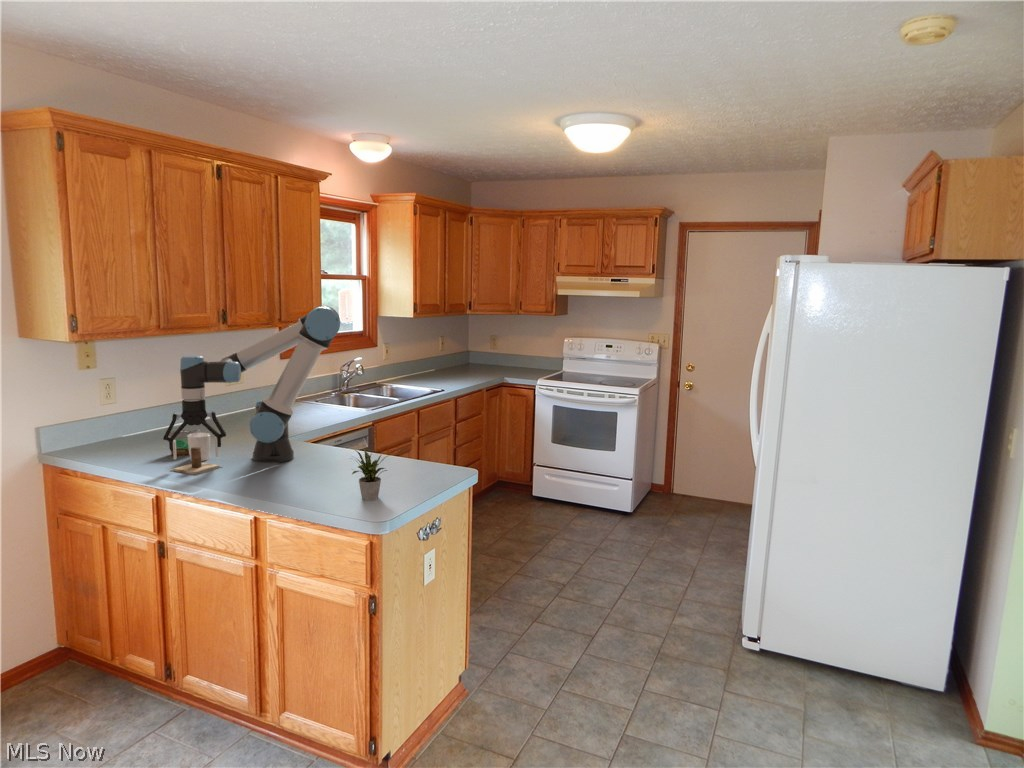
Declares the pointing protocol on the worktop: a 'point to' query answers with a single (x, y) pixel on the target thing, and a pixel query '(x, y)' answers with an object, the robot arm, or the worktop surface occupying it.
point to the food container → (182, 442)
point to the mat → (194, 474)
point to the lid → (196, 463)
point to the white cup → (200, 444)
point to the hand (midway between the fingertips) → (196, 457)
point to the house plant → (369, 477)
